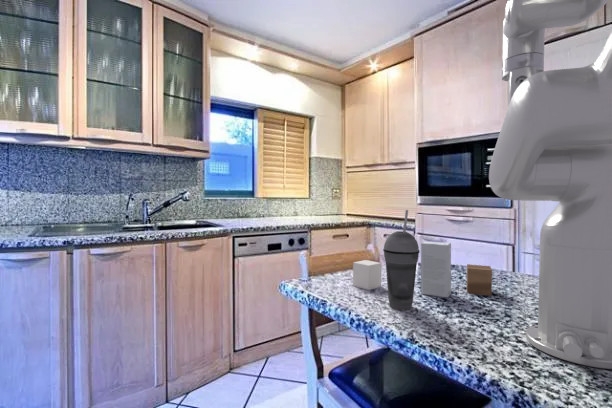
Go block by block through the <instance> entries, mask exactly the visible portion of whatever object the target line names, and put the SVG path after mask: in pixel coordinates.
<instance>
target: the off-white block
mask: <svg viewBox="0 0 612 408" xmlns="http://www.w3.org/2000/svg"><path fill="white" fill-rule="evenodd" d="M352 286H353V287H357V288H360V289H364V290H367V291H370V290H373V289H377V288H380V287H382V262H377V261H372V260H368V259H363V260H359V261H353V262H352Z"/></svg>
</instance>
